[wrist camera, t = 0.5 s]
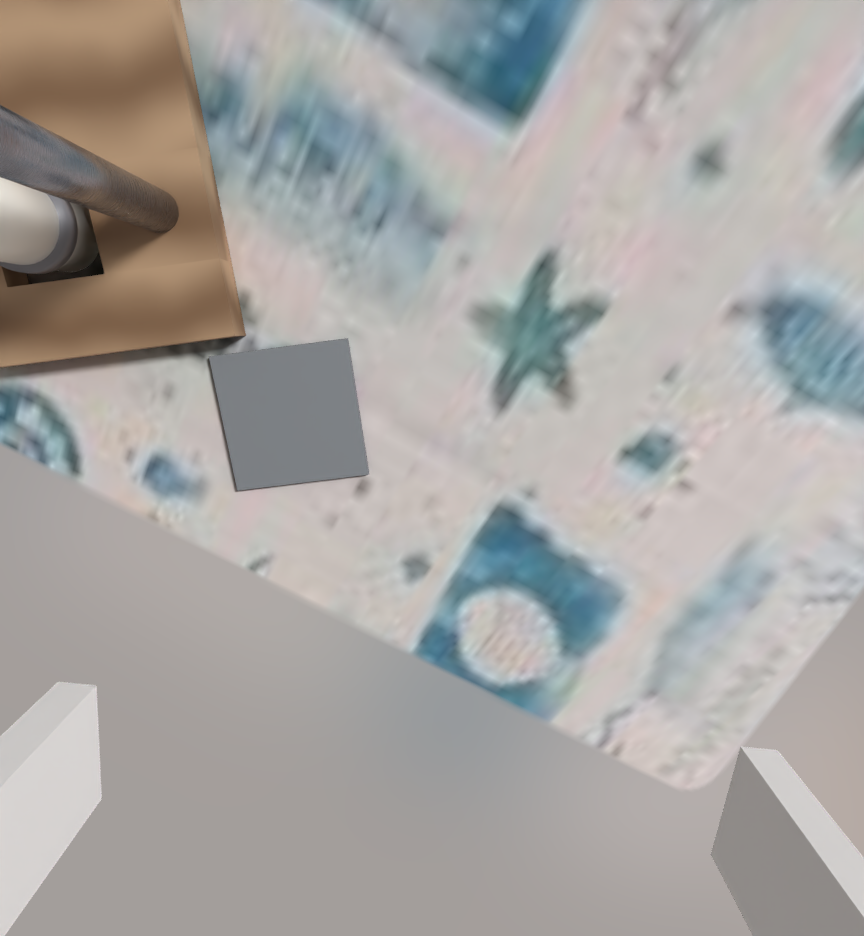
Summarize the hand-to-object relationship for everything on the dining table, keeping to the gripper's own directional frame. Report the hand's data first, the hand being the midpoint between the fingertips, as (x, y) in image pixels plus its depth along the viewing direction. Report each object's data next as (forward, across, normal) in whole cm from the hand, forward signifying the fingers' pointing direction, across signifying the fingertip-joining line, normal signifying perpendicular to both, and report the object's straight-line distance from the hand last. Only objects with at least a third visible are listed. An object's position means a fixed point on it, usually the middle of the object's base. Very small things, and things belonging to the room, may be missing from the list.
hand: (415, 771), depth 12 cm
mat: (+28, -10, +2) cm, 29 cm away
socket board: (+28, -23, +14) cm, 39 cm away
